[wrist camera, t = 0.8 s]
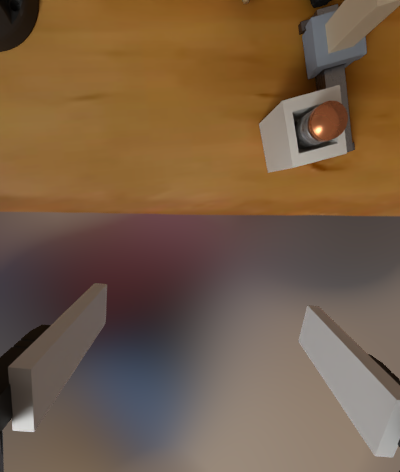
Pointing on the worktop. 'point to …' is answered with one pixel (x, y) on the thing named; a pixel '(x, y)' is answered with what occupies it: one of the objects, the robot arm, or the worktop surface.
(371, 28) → the carriage
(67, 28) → the worktop surface
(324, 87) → the rail
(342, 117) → the copper knob
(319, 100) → the white square housing
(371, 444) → the robot arm
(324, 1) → the rock
